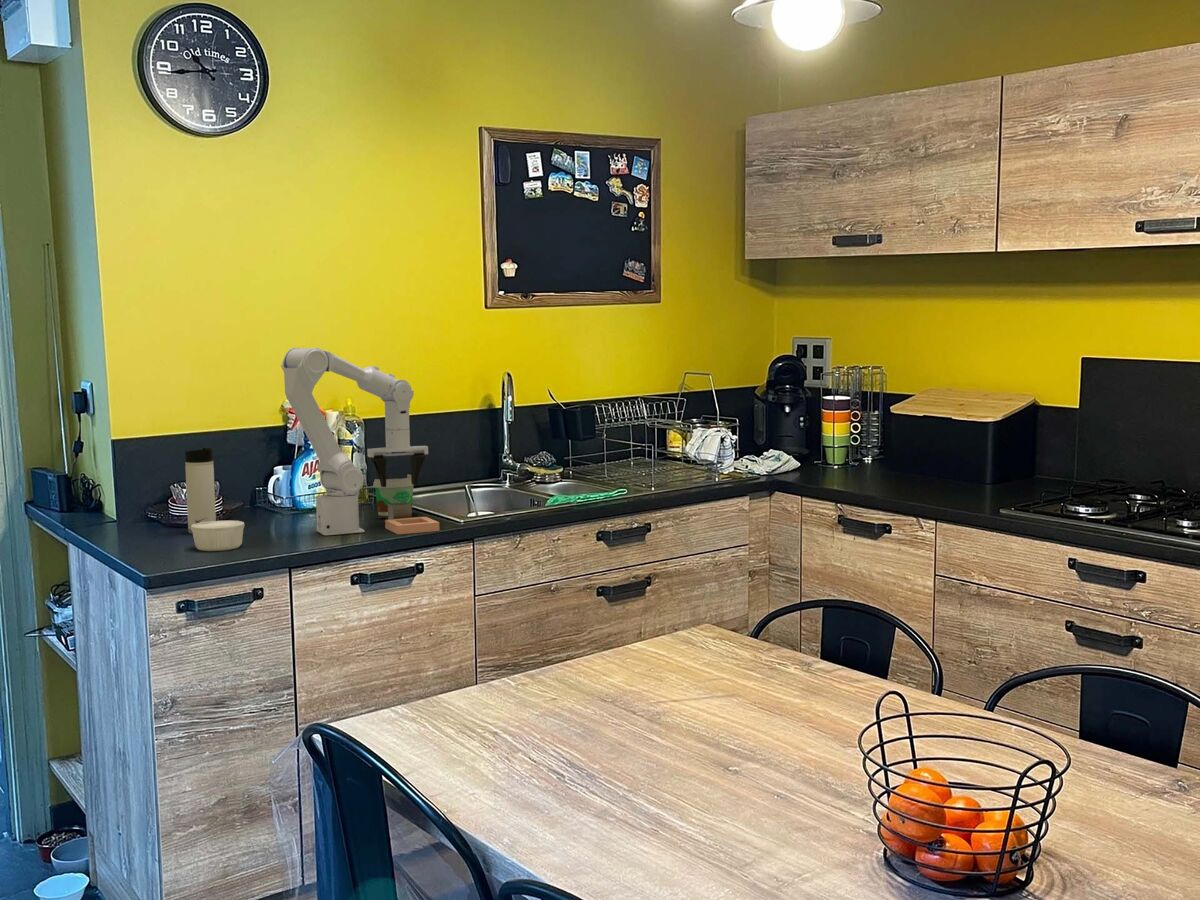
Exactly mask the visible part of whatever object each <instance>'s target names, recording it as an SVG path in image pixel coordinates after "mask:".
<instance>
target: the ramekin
mask: <svg viewBox="0 0 1200 900" xmlns="http://www.w3.org/2000/svg"><path fill="white" fill-rule="evenodd" d="M244 528H245V522H244V521H241V520H216V521H211V522H202V523H197V524H193V525H191V530H192V532H193V534H192V536H193V540H194V547H195V548H196V549H197V550H198V551H204V552H216V551H217V552H218V551H229V550H230V551H231V550H235V549H238V548H240V546H241V545H242V544H243V538H244V537H243V535H244Z"/></svg>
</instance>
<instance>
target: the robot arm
mask: <svg viewBox="0 0 1200 900" xmlns="http://www.w3.org/2000/svg"><path fill="white" fill-rule="evenodd" d="M280 367H281V369H282V372H283V375H284V376H283V377H284V378H283V379H284V382H283V383H284V395H285V398H286V399H287V402H289V405H290V406H291V408H292V411H293V412H294V414H295V417H296V419H297V420H298V422H299V424H300V426H301V428H302V430H303V431H304V433H305V435H306V437H307V439H308V441H309V443H310V445H311V446H312V448H313V451H314V453H315V454H316V456H317V458H318V460H319V462H318V464H317V466H316V467H317V469H318V472H319V477H320V479H319V480H320V484H321V485H322V487H323V488H324V489H325V494H324V495H319V496H317V498H316V501H315V502H316V503H315V507H316V530H315V531H316V532H318V533H320V534H321V535H323V536H334V535H347V534H348V535H349V534H357V533H364V532H365V530H364V529H363V528H361V527H360V518H359V517H360V514H359V512H360V511H359V494H360V490H361V489H362V487H363V485H364V475H363V472H362V471H361V470H360V468H358V467H357V466H355V464H354V463H353V461H352V459H350V457H348V456H347V454H345V453H344V452H343V451H342V449H341V447H340V446H339V444H338V442H337V441H338V440H336V437H335V436H334V434H333V432H332V430H331V429H330V426H329V424H328V422H327V420H326V419H325V416H324V415H323V413H322V411H321V408H320V407H319V405H318V403H317V400H316V399H315V397H314V395H313V392H314V388H315V387H316V385H317V383H318V382H319V381H320V380H321V378H322V377H323V376H324V374H325V373H327V372H331V373H334V374H337V375H339V376H342V377H345V378H347V379H350V380H352V381H354V382H356V384H357V387H358V388H359V389H360V390H362V391H364V392H367V393H369V394H371V395H373V396H375V397H378V398H379V399H381V401H382V402H383V403H384V421H385V422H384V423H385V425H384V427H385V447H373V448H367V457H368V458H370V460H371V462H372V463H373V466H374V468H375V469H376V473H377V475H378V476H377V477H378V479H380V483H381V486H382V487H386V479H387V476H386V474H387V473H386V472H387V471H386V470H387V459H386V458H385V457H398V456H409V461H410V462H409V463H410V472H411V473H410V475H411V482H412V484H413V486H418V485H417V484H418V479H419V476H420V472H421V469H422V466H423V465H424V462H425V460H426V455H429V446H427V445H412V446H411V441H410V440H411V436H410V435H411V434H410V433H411V431H410V408H411V401H412V400H413V397H414V394H415V393H414V392H415V391H414V390H413V389H412V386H411V384H410V383H409V381H407V380H405V379H396V378H395V375H394V374H392V373H391V374H389V373H386V372H383V371H380V370H379V369H380V368H379V366H375V365H372V366H366V367H363V368H362V367H360V366H358V365H356V364H353V363H352V362H350V361H348V360H346V359H345V358H342V357H340V356H338V355H336V354H334V353H332V352H330V351H327V350H323V349H321V348H319V347H311V348H301V347H292V348H290V349H288V350H287V352H286V353H285V354H284V357H283V359H282V362H281V365H280Z"/></svg>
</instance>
